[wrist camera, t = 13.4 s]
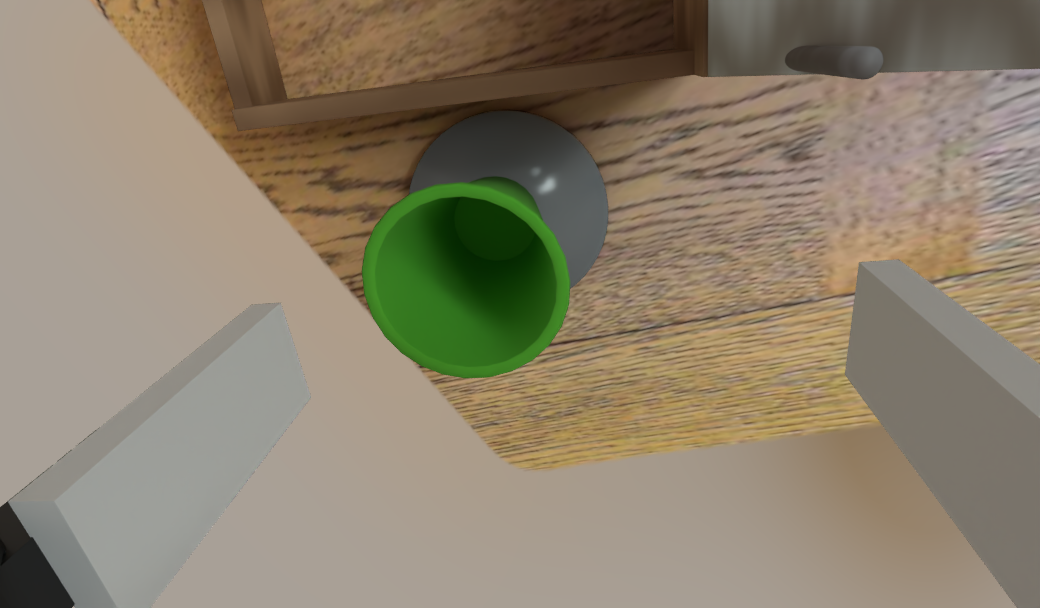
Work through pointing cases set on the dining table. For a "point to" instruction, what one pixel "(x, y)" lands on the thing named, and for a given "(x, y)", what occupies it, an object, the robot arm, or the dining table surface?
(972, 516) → the robot arm
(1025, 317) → the dining table surface
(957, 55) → the cold frame
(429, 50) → the dining table surface
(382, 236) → the cup
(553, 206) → the gray round coaster
